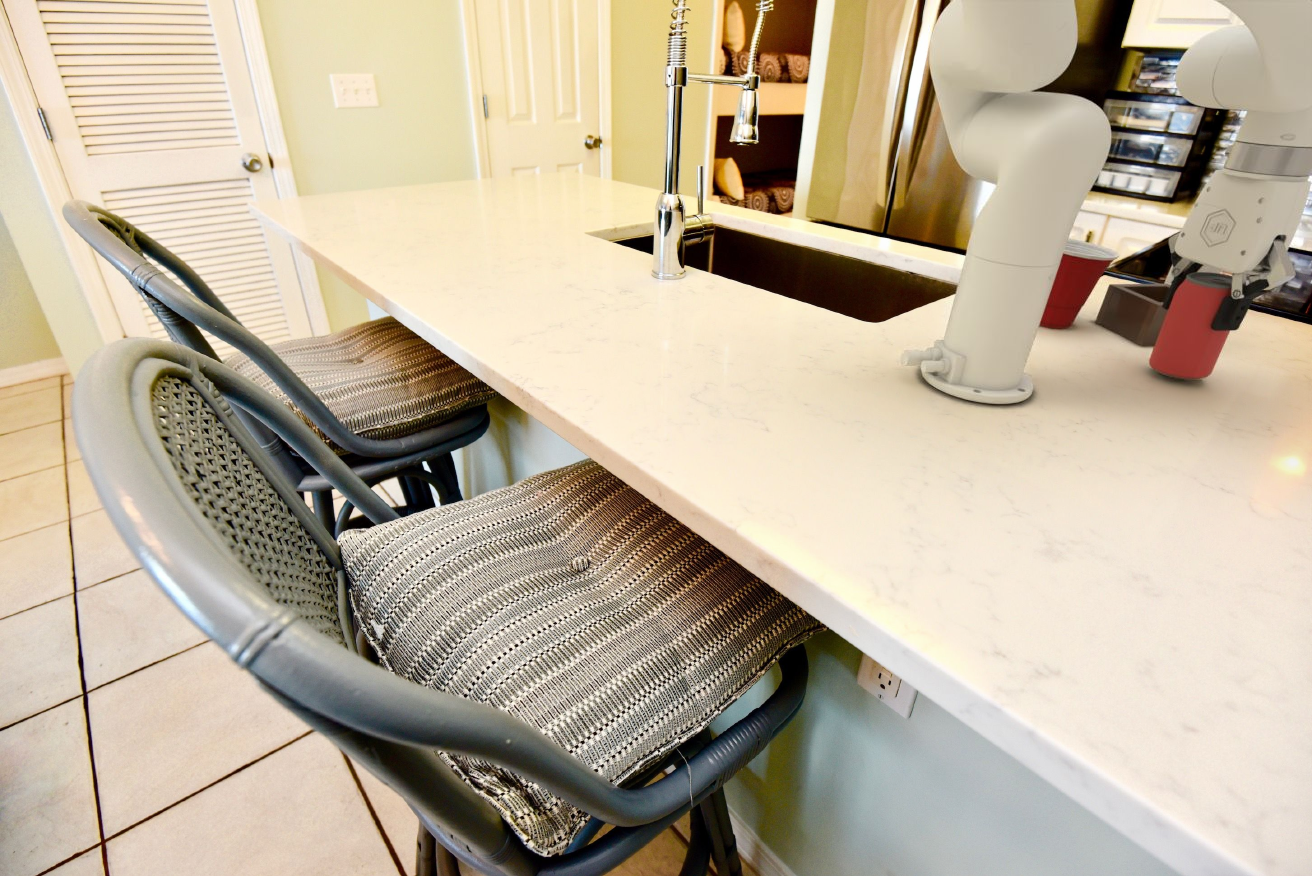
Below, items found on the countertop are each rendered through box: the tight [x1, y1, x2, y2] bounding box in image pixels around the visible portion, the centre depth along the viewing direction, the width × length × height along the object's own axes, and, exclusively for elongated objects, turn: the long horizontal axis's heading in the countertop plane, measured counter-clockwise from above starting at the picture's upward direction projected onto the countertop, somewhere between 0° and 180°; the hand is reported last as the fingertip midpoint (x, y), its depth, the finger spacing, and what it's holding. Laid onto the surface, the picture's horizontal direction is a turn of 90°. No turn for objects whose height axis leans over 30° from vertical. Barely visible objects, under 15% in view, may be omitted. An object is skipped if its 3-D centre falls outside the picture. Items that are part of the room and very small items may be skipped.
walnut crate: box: [1095, 283, 1171, 347], centre depth 98 cm, size 10×10×6 cm
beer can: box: [1148, 272, 1232, 381], centre depth 82 cm, size 7×7×12 cm
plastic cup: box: [1039, 237, 1121, 330], centre depth 99 cm, size 11×11×12 cm
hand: (1198, 317), depth 81 cm, fingers closed on beer can, 6 cm apart
